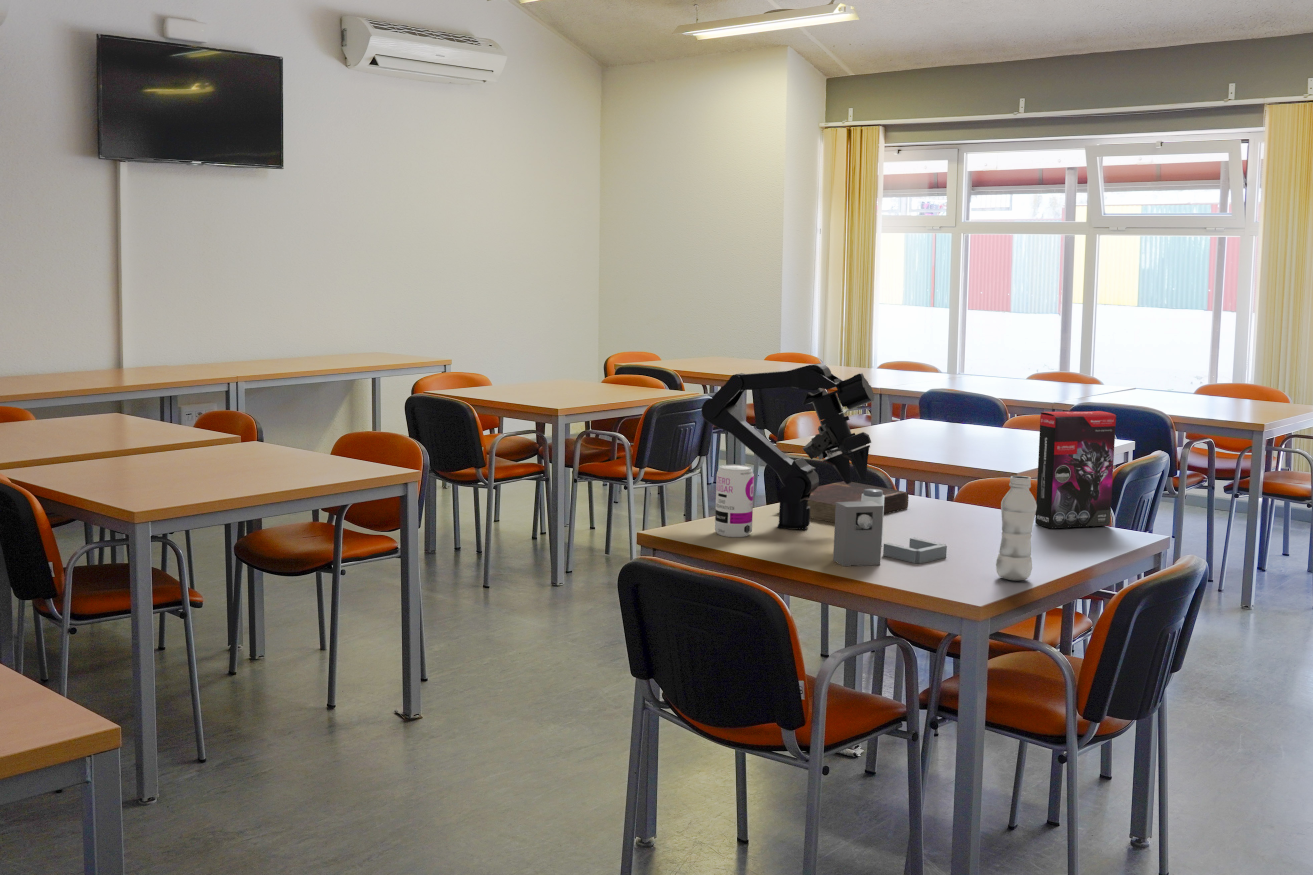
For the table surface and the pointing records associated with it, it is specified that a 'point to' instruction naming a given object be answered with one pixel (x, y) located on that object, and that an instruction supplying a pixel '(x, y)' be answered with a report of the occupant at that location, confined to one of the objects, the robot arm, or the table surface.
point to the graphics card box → (1075, 469)
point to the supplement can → (734, 500)
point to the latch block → (857, 534)
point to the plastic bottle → (1016, 530)
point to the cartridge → (874, 499)
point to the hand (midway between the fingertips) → (856, 482)
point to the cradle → (916, 551)
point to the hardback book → (850, 498)
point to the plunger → (863, 520)
